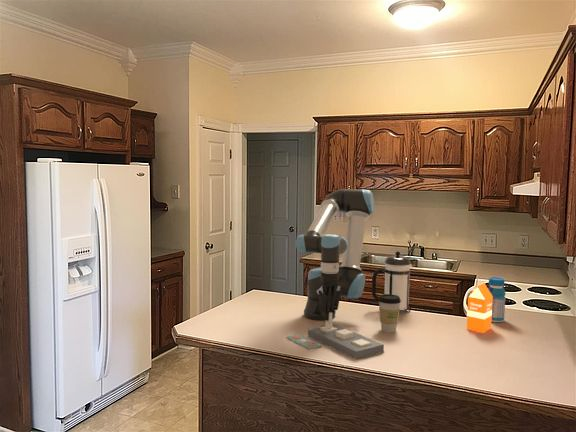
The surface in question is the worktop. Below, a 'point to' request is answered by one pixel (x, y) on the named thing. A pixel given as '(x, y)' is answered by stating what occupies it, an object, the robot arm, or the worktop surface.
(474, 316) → the orange juice
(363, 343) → the button right
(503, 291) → the beverage bottle
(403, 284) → the coffee press
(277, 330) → the worktop surface
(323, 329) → the button left
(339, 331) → the button middle
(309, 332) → the board
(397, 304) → the coffee cup
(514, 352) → the worktop surface
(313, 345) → the card
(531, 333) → the worktop surface
